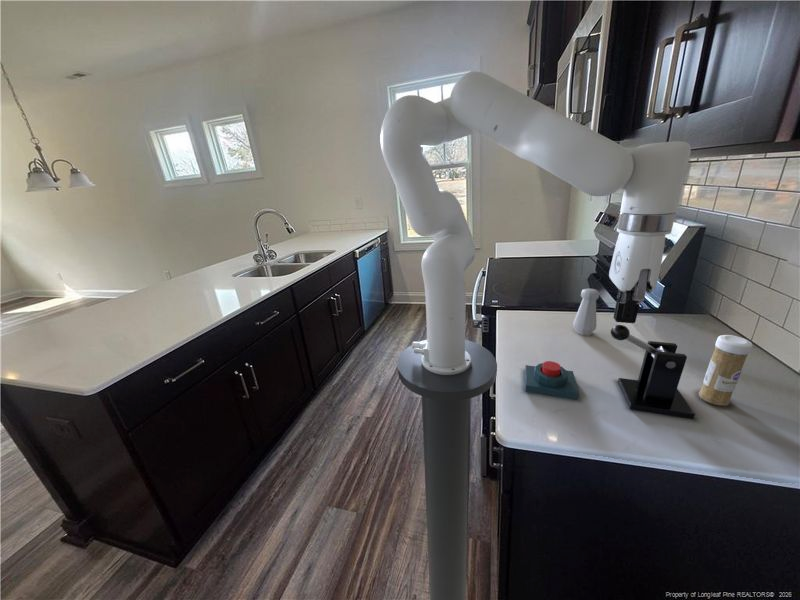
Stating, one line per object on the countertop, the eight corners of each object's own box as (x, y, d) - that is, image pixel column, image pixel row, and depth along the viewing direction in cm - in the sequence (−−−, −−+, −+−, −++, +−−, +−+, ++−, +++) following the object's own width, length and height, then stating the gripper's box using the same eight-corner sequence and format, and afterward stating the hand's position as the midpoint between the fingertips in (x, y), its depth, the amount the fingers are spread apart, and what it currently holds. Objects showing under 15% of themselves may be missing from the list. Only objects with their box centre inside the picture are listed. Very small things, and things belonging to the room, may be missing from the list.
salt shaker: (567, 329, 93) (573, 288, 88) (583, 326, 94) (590, 285, 89) (583, 338, 88) (591, 294, 83) (599, 334, 89) (608, 291, 84)
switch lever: (609, 337, 61) (620, 326, 59) (605, 330, 63) (616, 319, 62) (668, 370, 59) (681, 359, 58) (662, 361, 62) (674, 350, 61)
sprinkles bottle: (723, 410, 60) (747, 348, 55) (693, 397, 64) (713, 338, 59) (733, 401, 62) (757, 340, 57) (703, 389, 66) (723, 331, 61)
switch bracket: (629, 409, 62) (643, 357, 57) (617, 382, 69) (628, 334, 65) (693, 419, 58) (713, 365, 54) (673, 389, 66) (688, 340, 62)
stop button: (542, 375, 68) (543, 369, 67) (541, 366, 71) (542, 360, 71) (560, 378, 67) (562, 371, 66) (559, 369, 70) (560, 362, 69)
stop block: (525, 391, 68) (526, 378, 67) (524, 371, 75) (526, 358, 74) (577, 399, 65) (580, 385, 64) (571, 377, 72) (574, 364, 71)
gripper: (608, 217, 61) (593, 304, 68) (631, 231, 48) (610, 337, 55) (654, 216, 59) (634, 307, 66) (693, 230, 46) (663, 341, 53)
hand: (623, 320), depth 60 cm, fingers closed
